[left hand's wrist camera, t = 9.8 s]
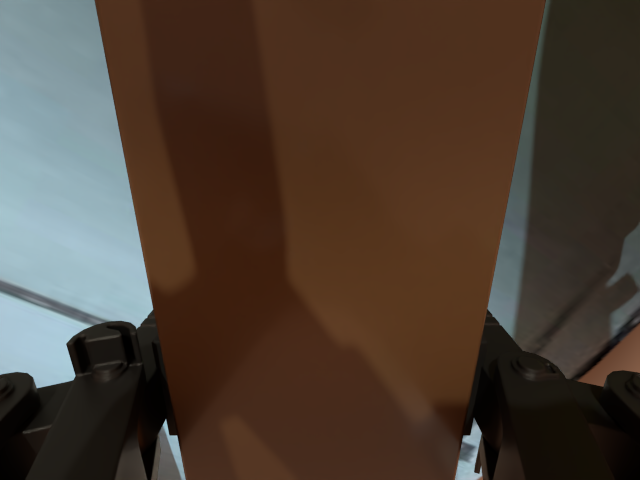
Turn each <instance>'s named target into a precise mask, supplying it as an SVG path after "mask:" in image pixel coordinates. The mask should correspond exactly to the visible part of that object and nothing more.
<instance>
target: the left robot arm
mask: <svg viewBox="0 0 640 480" xmlns="http://www.w3.org/2000/svg"><path fill="white" fill-rule="evenodd" d="M66 345H67V348H68V351H69V355H70V358H71V361H72V365H73V368H74V372H75V375H76V376H75V378H74V380H73V381H69V382H65V383H60V384H56V385H51V386H46V387H42V388H36V385H35V382H34V379H33V377H32V376H30V375H29V374H28V373H20V372H15V373H8V374H2V375H0V480H157V476H158V468H159V460H160V453H161V446H160V440H159V435H158V433H159V431H160V429H161V427H162V425H163V423H164V421H165V419H166V420H167V425H168V430H169V435H177V431H176V425H175V420H174V415H173V409H172V404H171V399H170V394H169V388H168V383H167V378H166V373H165V367H164V362H163V357H162V352H161V346H160V341H159V336H158V331H157V325H156V320H155V315H154V310H152V312H151V313H150V314H149V315H148V318H146V319H145V320H144V321H143V322H142V324H141V326H140V327H138V328H137V330H136V327H135V326H134V325H133V324H131V323H129V322H124V321H111V322H106V323H101V324H97V325H94V326H92V327H89V328H87V329H84V330H83V331H81V332H79V333H78V334H76V335H75V336H73V337H72V338H71V339H70V340H69V341H68V343H67V344H66ZM473 418H475V420H476V422H477V424H478V426H479V428H480V430H481V432H482V435H481V440H480V444H479V449H478V454H477V459H476V463H475V470H474V472H475V473H478V474H479V473H480V468H481V467H482V475H483V480H640V373H637V372H630V371H614V372H612V373H610V374H609V375H608V376H607V378H606V381H605V384H604V387H601V386H597V385H592V384H587V383H582V382H578V381H573V380H569V379H566V378H565V376H564V374H563V373H562V372H561V371H560V369H559V368H558V367H557V366H556V365H554V364H553V363H551V362H550V361H549V360H547V359H545V358H543V357H541V356H538V355H536V354H533V353H529V352H525V351H522V350H521V348H520V347H519V346H518V345H517V344H516V342H515V341H514V340H513V339H512V338H511V337H510V335H509V334H508V333H507V332H506V331H505V329H504V328H503V327H502V326H501V325H499V322H498V321H497V320H496V319H495V318H494V317H492V314H491V313H490V312H489V310H488V309H487V312H486V318H485V323H484V328H483V333H482V339H481V344H480V349H479V354H478V360H477V365H476V370H475V375H474V381H473V386H472V391H471V396H470V402H469V407H468V412H467V417H466V423H465V428H464V433H463V435H470V434H471V429H472V424H473Z"/></svg>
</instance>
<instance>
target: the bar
mask: <svg viewBox="0 0 640 480" xmlns="http://www.w3.org/2000/svg"><path fill="white" fill-rule="evenodd" d="M545 2H546V0H95V5H96V10H97V15H98V21H99V26H100V31H101V36H102V42H103V47H104V52H105V57H106V63H107V68H108V73H109V78H110V84H111V89H112V94H113V99H114V105H115V110H116V115H117V120H118V126H119V131H120V136H121V141H122V147H123V152H124V157H125V162H126V168H127V173H128V178H129V183H130V189H131V194H132V199H133V204H134V210H135V215H136V220H137V226H138V231H139V236H140V241H141V247H142V252H143V257H144V262H145V268H146V273H147V278H148V283H149V289H150V294H151V299H152V304H153V310H154V315H155V320H156V325H157V331H158V336H159V341H160V346H161V352H162V357H163V362H164V367H165V373H166V378H167V383H168V388H169V394H170V399H171V404H172V409H173V415H174V420H175V425H176V431H177V436H178V441H179V446H180V452H181V457H182V462H183V467H184V473H185V478H186V480H455V475H456V470H457V465H458V460H459V454H460V449H461V444H462V438H463V433H464V428H465V423H466V417H467V412H468V407H469V402H470V396H471V391H472V386H473V381H474V375H475V370H476V365H477V360H478V354H479V349H480V344H481V339H482V333H483V328H484V323H485V318H486V312H487V307H488V302H489V297H490V291H491V286H492V281H493V276H494V270H495V265H496V260H497V255H498V249H499V244H500V239H501V234H502V228H503V223H504V218H505V213H506V207H507V202H508V197H509V192H510V186H511V181H512V176H513V171H514V165H515V160H516V155H517V149H518V144H519V139H520V134H521V128H522V123H523V118H524V113H525V107H526V102H527V97H528V92H529V86H530V81H531V76H532V71H533V65H534V60H535V55H536V50H537V44H538V39H539V34H540V29H541V23H542V18H543V13H544V8H545Z"/></svg>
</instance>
